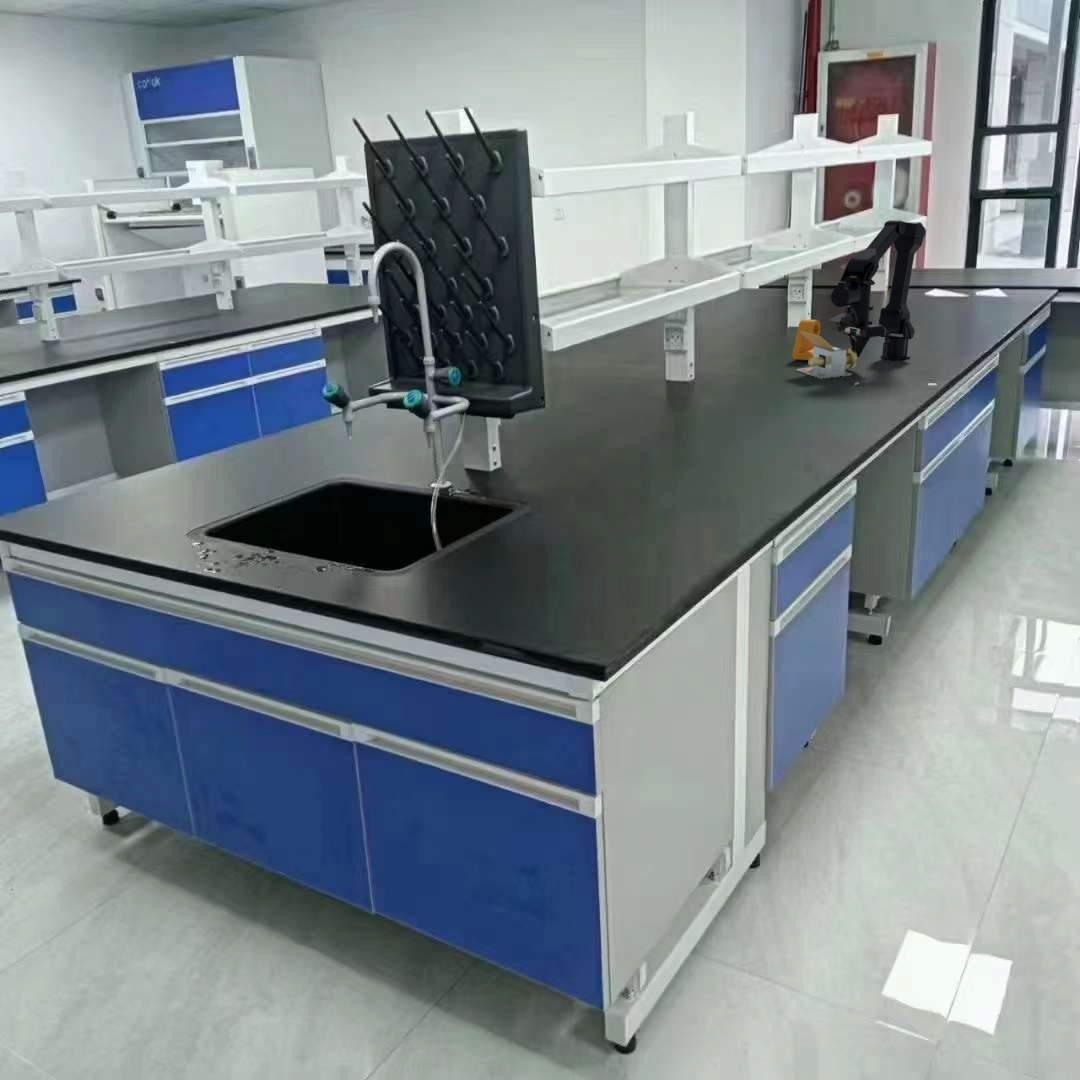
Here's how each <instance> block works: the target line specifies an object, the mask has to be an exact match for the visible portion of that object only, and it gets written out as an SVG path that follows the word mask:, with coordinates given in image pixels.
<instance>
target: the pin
mask: <svg viewBox="0 0 1080 1080" xmlns="http://www.w3.org/2000/svg"><path fill="white" fill-rule="evenodd" d="M845 350H846V365H845V368H847V369H851V368H852V369H853V368H855V367H856V366H857V363H858V358H857V353H856V351H855V350H854V349H853V348H852V347H850V348H846V349H845ZM807 364H808V367H813V366H822V365H825V364H826V357H817V358H810V359H809V360H808V361H807Z"/></svg>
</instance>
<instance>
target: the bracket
mask: <svg viewBox="0 0 1080 1080" xmlns="http://www.w3.org/2000/svg"><path fill="white" fill-rule="evenodd" d="M798 323H799V324H798V327H797V331H796V336H795V341H794V345H793V350H792V359H793V360H794V359H795V360H797V361H798V360H799V361H806V360H809V359H810V358H813V351H814V346H812V344H813V343H811V342H810V341H809V340H808V339H807V338H806V337H805V336H803V335H802V334H801V333H800V332H801V331H805V332H808V333H812V334H816V335H819V336H820V333H821V322H820V320H818V319H806V318H803V319H801V320H800V322H798Z"/></svg>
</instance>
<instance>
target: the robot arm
mask: <svg viewBox="0 0 1080 1080" xmlns="http://www.w3.org/2000/svg"><path fill="white" fill-rule="evenodd" d="M922 223H923V222H920V221H919V222H914V221H911V222H910V221H909V222H907V221H904V220H899V219H897V220H894V219H893V220H890V219H889V220H888V221H886V222H884V225H883V228H882V229H881V230H880V231H879V232H878V234H877V235H876V236H875V237H874V238H873V240H872V241H871V242H870V243H869V245H868V246H867V247H865V249H864V250H862V251H859V252H857V253H856V254H854V256H852V257H851V258H850V259H849V260H848V263H847V264H846V266H845V269H844V271H843V273H842V275H841V278H840V280H839V281H838V282H837V287H835V288H834V289H833V290H832V292H831V293H830V299H831V302H832V304H833V305H834V306H835V307H837V308H844V307H845V308H844V312H841V313H839V314H837V315H836V316H835V315H834V316H833V317H831V318H830V319H829V320H828V321H829V324H830V328H831V331H836V332H837V333H838V332H839V333H840V332H842V334H843V335H845V336H846V338H848V340H849V343H850V346H851V347H850V348H853V349H854V350H855V351H856V353H857V359H858V358H860V356H861V355H862V352H863V351H864V349H865V348H866V345H867V344H868V342H869V341H870V339H871V338H875V337H880V338H884V340H883V341H884V342H883V343H882V354H880V355H879V356H880V358H884V359H886V360H891V361H896V360H898V361H899V360H906V359H910V358H911V356H910V355H908V351H909V340H912V339H913V338H914V335H915V329H914V326H913V325H912V323H911V321H910V319H911V313H910V310H909V308H908V305H907V300H908V294H909V290H910V289H909V288H910V283H911V276H912V272H913V270H912V269H913V265H914V258H915V254H916V253H917V252H918V251H919V249H920V248H921V247H922V245H923V241H924V238H925V235H926V227H924V225H923V224H922ZM892 245H893V246H894V249H895V251H896V257H895V263H894V270H893V274H892V275H893V276H892V282H891V287H890V288H891V289H890V293H889V294H890V295H889V298H888V299H889V301H888V303H887V305H886V306H885V307H882V308H881V309H880V312H879V319H878V324H877V323H875V324H874V323H873V320H870V315H871V314H870V313H871V311H874V306H872V305H871V298H872V297H871V295H872V286H874V285H875V284H876V282H875V281H874V280H873V277H875V275H876V274H877V271H878V270H879V268H880V260H881V259H882V257H883V256H884V255H885V254H886V252H887V251H889V250H890V248H891V246H892ZM843 331H844V332H843Z"/></svg>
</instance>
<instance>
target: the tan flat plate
mask: <svg viewBox="0 0 1080 1080" xmlns="http://www.w3.org/2000/svg"><path fill="white" fill-rule="evenodd" d="M800 333H801V334H802V335H803V336H805V337H806V338H807V339H808V340H809V341H810V342H811V343H813V344H812V346H815V347H818V348H821V349H825V350H828V351H831V352H833V351H834V349H833V347H834V346H833V347H832V345H831V344H830V343H829V342H828V341H826V340H825V339H824V337H822V336H821V335H820V334H819V335H816V334H812V333H808V332H805V331H801V332H800Z"/></svg>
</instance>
